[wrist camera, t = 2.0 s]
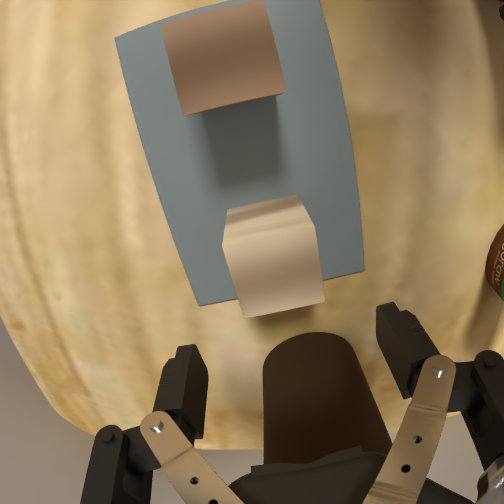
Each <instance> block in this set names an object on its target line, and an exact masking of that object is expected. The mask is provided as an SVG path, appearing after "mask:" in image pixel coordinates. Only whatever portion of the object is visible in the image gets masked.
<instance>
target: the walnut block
mask: <svg viewBox="0 0 504 504" xmlns="http://www.w3.org/2000/svg"><path fill="white" fill-rule="evenodd" d="M160 26H161V31H162V35H163V39H164V43H165V47H166V51H167V55H168V59H169V63H170V67H171V71H172V75H173V79H174V83H175V87H176V91H177V95H178V99H179V103H180V106H181V110H182V114H183V116H188V115H193V114H198V113H203V112H207V111H211V110H214V109H218V108H222V107H227V106H231V105H235V104H239V103H244V102H248V101H253V100H258V99H263V98H268V97H273V96H277V95H280V94H283V93H286V92H287V89H286V85H285V80H284V76H283V72H282V68H281V64H280V60H279V56H278V52H277V48H276V44H275V40H274V36H273V32H272V29H271V25H270V21H269V18H268V14H267V10H266V7H265V3H264V0H257V1H251V2H246V3H240V4H235V5H231V6H226V7H222V8H217V9H213V10H209V11H205V12H201V13H198V14H194V15H190V16H187V17H184V18H180V19H177V20H174V21H171V22H168V23H165V24H162V25H160Z"/></svg>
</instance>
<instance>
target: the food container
mask: <svg viewBox="0 0 504 504" xmlns="http://www.w3.org/2000/svg"><path fill="white" fill-rule="evenodd" d="M486 277H487V280H488V282H489V283H490V285H491V286H492V287H493V288H494V290H495V291H496V292H497V293H498V295H499V296H500V297H501V299H502V300H503V301H504V225H503V226H502V227H501V229H500V230H499V231H498V232H497V234H496V236H495V238H494V240H493V242H492V244H491V246H490V250H489V253H488V256H487V261H486Z"/></svg>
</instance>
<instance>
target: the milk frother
mask: <svg viewBox="0 0 504 504" xmlns="http://www.w3.org/2000/svg"><path fill="white" fill-rule="evenodd" d="M499 1H502V2H504V0H499ZM499 12H500V16H501V18H502V20H503V21H504V5H502V6H501V7H500V8H499Z"/></svg>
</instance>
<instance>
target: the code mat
mask: <svg viewBox="0 0 504 504" xmlns="http://www.w3.org/2000/svg"><path fill="white" fill-rule="evenodd" d="M251 1H257V0H231V1H226V2H221V3H217V4H213V5H209V6H205V7H201V8H198V9H194V10H190V11H187V12H184V13H180V14H177V15H174V16H171V17H168V18H165V19H162V20H159V21H156V22H153V23H150V24H148V25H145V26H142V27H140V28H137V29H134V30H132V31H129V32H127V33H125V34H122V35H120V36H118V37H115V42H116V47H117V51H118V55H119V59H120V63H121V68H122V72H123V76H124V80H125V84H126V87H127V91H128V95H129V99H130V103H131V106H132V110H133V113H134V117H135V121H136V124H137V128H138V131H139V135H140V138H141V141H142V145H143V148H144V151H145V155H146V158H147V161H148V164H149V168H150V171H151V174H152V177H153V180H154V183H155V186H156V189H157V192H158V196H159V199H160V202H161V205H162V207H163V210H164V213H165V216H166V219H167V222H168V225H169V228H170V231H171V233H172V236H173V239H174V242H175V245H176V247H177V250H178V253H179V256H180V258H181V261H182V264H183V266H184V269H185V272H186V274H187V277H188V280H189V282H190V285H191V287H192V290H193V293H194V295H195V298H196V300H197V303H198V305H199V306H200V305H205V304H211V303H216V302H221V301H226V300H231V299H237V298H238V297H237V294H236V290H235V287H234V284H233V281H232V278H231V274H230V271H229V268H228V265H227V261H226V258H225V255H224V252H223V248H222V243H223V236H224V229H225V222H226V215H227V209H231V208H236V207H240V206H244V205H249V204H253V203H258V202H262V201H267V200H271V199H276V198H280V197H285V196H290V195H294V194H297V195H298V197H299V199H300V200H301V202H302V204H303V206H304V208H305V209H306V211H307V213H308V215H309V217H310V219H311V220H312V222H313V224H314V226H315V232H316V238H317V245H318V252H319V259H320V266H321V273H322V280H326V279H330V278H334V277H339V276H343V275H347V274H351V273H356V272H360V271H364V270H365V266H364V250H363V236H362V224H361V213H360V203H359V194H358V186H357V178H356V170H355V163H354V156H353V149H352V142H351V136H350V130H349V124H348V119H347V113H346V108H345V103H344V97H343V92H342V88H341V83H340V78H339V74H338V69H337V65H336V61H335V56H334V52H333V48H332V44H331V40H330V37H329V33H328V29H327V25H326V22H325V18H324V15H323V11H322V8H321V5H320V1H319V0H264V3H265V7H266V10H267V14H268V18H269V21H270V25H271V29H272V32H273V36H274V40H275V44H276V48H277V52H278V56H279V60H280V64H281V68H282V72H283V76H284V80H285V85H286V89H287V92H286V93H283V94H280V95H277V96H273V97H268V98H263V99H258V100H253V101H248V102H244V103H239V104H235V105H231V106H227V107H222V108H218V109H214V110H211V111H207V112H203V113H198V114H193V115H188V116H183V114H182V110H181V106H180V103H179V99H178V95H177V91H176V87H175V83H174V79H173V75H172V71H171V67H170V63H169V59H168V55H167V51H166V47H165V43H164V39H163V35H162V31H161V26H160V25H162V24H165V23H168V22H171V21H174V20H177V19H180V18H184V17H187V16H190V15H194V14H198V13H201V12H205V11H209V10H213V9H217V8H222V7H226V6H231V5H235V4H240V3H246V2H251Z"/></svg>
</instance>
